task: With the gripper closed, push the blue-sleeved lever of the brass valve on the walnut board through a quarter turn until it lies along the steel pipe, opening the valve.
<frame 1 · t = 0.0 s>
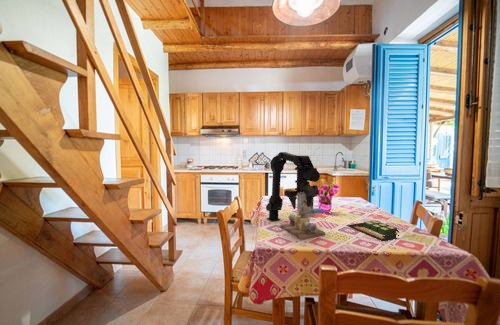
hand: (301, 208, 122), 15 cm above the table, tool pointing down, fingers open, 9 cm apart
valve board: (301, 231, 129), on the table
coffee box: (304, 216, 157), on the table
lever: (310, 212, 130), point 10 cm above the table, hinge at 90.0°
sushi: (379, 231, 131), on the table
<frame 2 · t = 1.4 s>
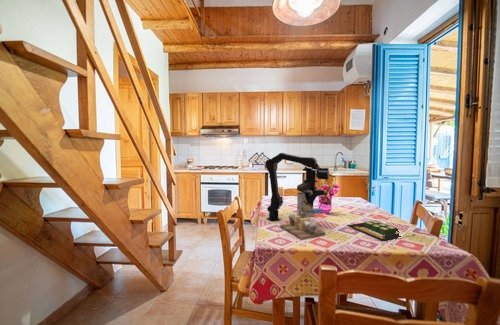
hand: (309, 204, 137), 13 cm above the table, tool pointing down, fingers closed
nothing on the table moved.
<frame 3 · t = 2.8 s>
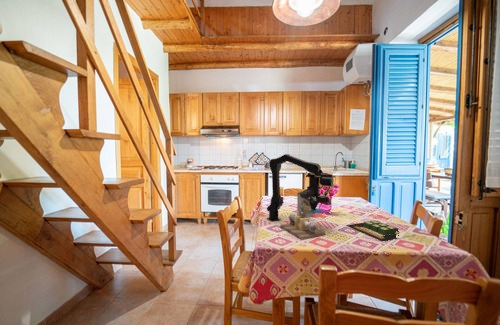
hand: (313, 211, 134), 10 cm above the table, tool pointing down, fingers closed
lever: (310, 212, 130), point 10 cm above the table, hinge at 89.9°, touching gripper
everything else where it was.
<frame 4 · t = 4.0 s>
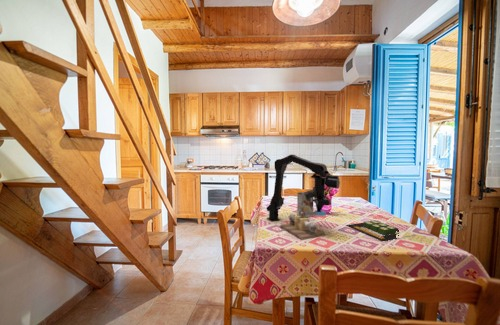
hand: (318, 212, 131), 10 cm above the table, tool pointing down, fingers closed
lever: (312, 213, 128), point 10 cm above the table, hinge at 67.3°, touching gripper
everything else where it was.
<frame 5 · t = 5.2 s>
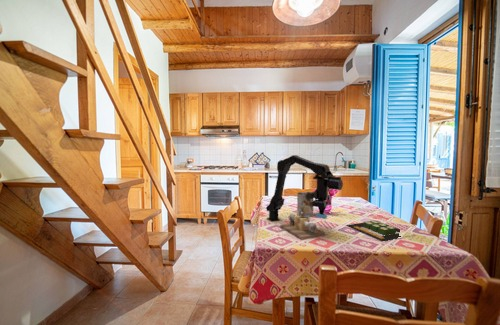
hand: (321, 215, 126), 10 cm above the table, tool pointing down, fingers closed
lever: (312, 214, 126), point 10 cm above the table, hinge at 40.9°, touching gripper
everything else where it was.
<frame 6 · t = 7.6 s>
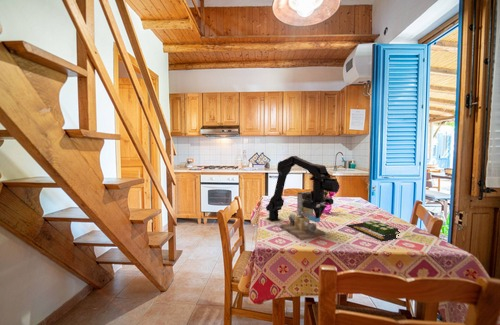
hand: (317, 218, 120), 10 cm above the table, tool pointing down, fingers closed
lever: (308, 216, 123), point 10 cm above the table, hinge at -1.0°
everything else where it was.
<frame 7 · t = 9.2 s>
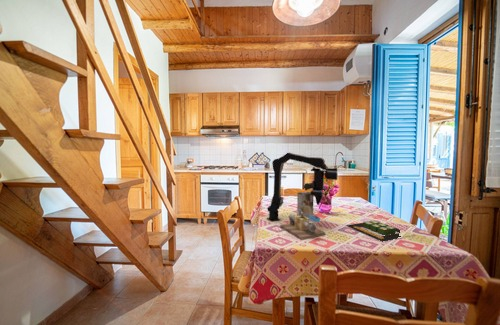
hand: (317, 204, 136), 13 cm above the table, tool pointing down, fingers closed
nothing on the table moved.
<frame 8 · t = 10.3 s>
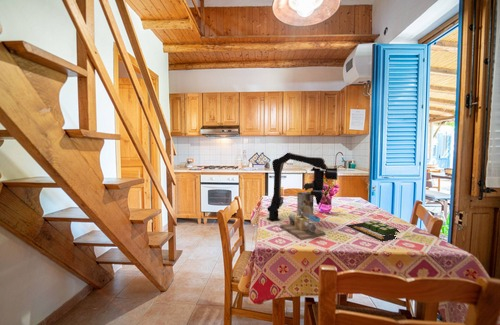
hand: (317, 204, 136), 13 cm above the table, tool pointing down, fingers closed
nothing on the table moved.
at the end: lever at -1° (first picture: +90°) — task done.
